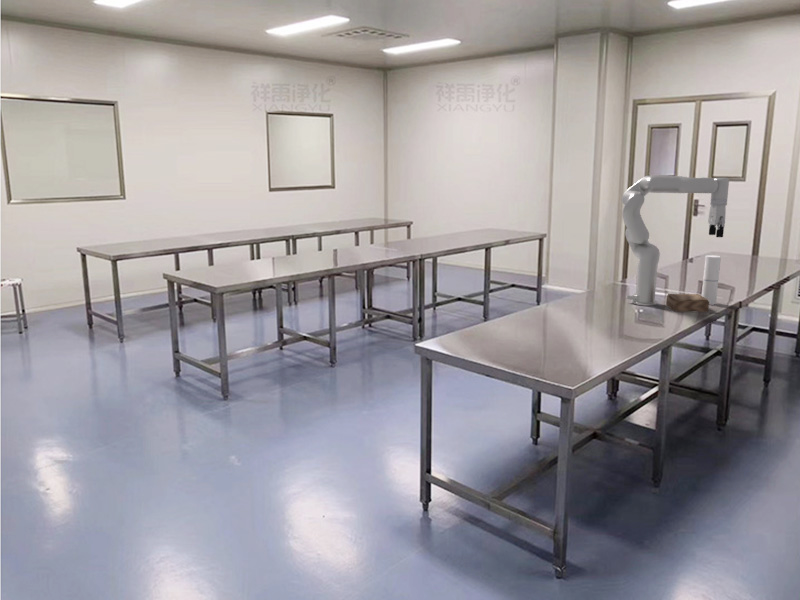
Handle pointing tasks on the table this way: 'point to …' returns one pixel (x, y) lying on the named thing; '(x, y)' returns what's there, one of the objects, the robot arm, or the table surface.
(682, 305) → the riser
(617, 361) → the table surface
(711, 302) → the cylindrical container
